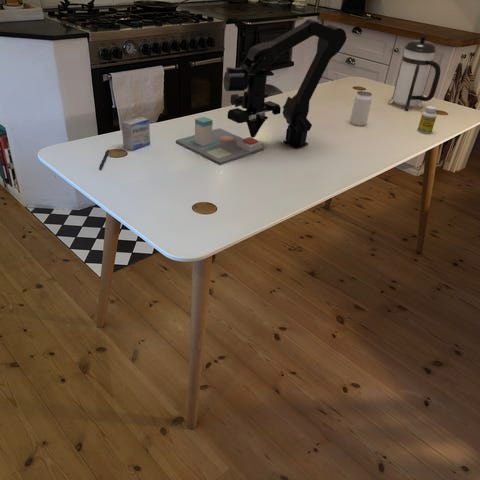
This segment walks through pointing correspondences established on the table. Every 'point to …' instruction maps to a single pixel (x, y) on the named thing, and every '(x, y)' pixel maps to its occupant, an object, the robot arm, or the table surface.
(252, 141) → the button
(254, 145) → the picture board
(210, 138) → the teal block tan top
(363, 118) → the can
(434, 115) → the supplement bottle
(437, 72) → the coffee press
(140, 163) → the table surface
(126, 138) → the medicine box
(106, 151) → the pencil
